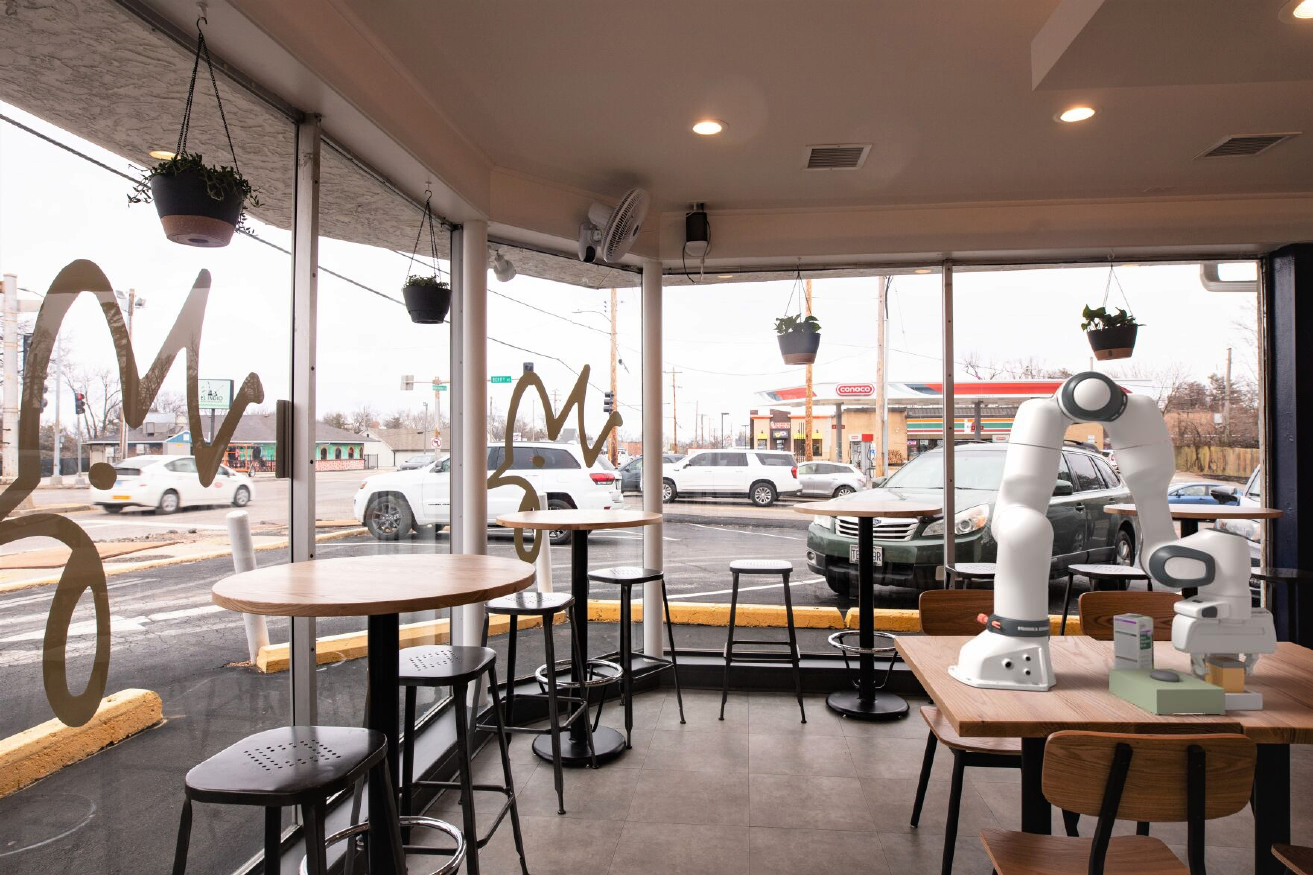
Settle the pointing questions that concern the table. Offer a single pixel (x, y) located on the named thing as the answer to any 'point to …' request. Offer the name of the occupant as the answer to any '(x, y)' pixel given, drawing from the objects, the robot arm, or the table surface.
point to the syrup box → (1133, 642)
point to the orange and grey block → (1226, 673)
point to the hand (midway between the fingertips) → (1224, 674)
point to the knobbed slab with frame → (1177, 692)
